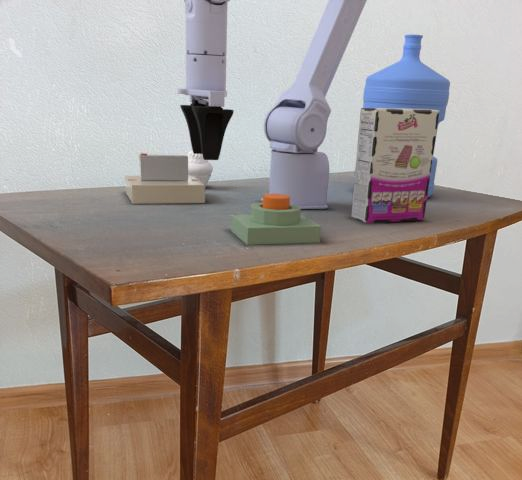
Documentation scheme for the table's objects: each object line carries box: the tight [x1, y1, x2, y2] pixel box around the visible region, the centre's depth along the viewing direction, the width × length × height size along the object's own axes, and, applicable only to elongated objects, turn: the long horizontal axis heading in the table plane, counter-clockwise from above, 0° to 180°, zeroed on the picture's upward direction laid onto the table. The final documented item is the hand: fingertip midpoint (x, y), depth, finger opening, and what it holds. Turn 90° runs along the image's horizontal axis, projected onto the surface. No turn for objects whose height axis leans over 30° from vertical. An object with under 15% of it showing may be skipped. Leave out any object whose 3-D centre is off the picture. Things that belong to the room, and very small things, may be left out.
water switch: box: [230, 201, 322, 246], centre depth 79 cm, size 10×8×4 cm
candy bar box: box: [350, 107, 440, 224], centre depth 91 cm, size 11×5×16 cm, turn 114°
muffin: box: [186, 150, 214, 188], centre depth 112 cm, size 6×6×7 cm
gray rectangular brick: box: [138, 152, 188, 180], centre depth 99 cm, size 8×2×4 cm, turn 108°
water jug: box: [353, 34, 451, 199], centre depth 112 cm, size 16×16×28 cm
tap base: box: [124, 175, 206, 205], centre depth 101 cm, size 12×12×3 cm
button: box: [261, 193, 290, 210], centre depth 78 cm, size 4×4×2 cm
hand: (205, 156), depth 89 cm, fingers open, 7 cm apart
